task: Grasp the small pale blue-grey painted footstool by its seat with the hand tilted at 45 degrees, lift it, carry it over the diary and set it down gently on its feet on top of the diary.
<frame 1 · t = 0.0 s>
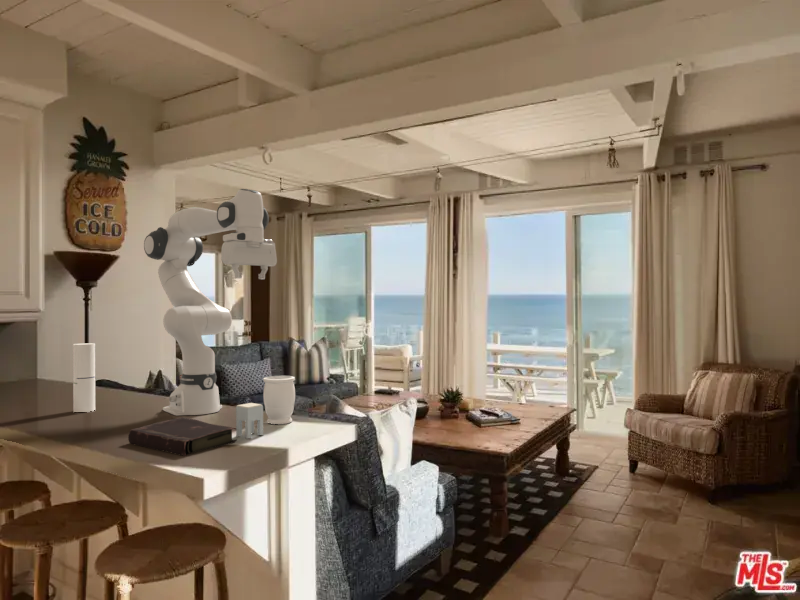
hand: (250, 278, 188), 48 cm above the counter, tool pointing down, fingers open, 8 cm apart
stool: (249, 435, 169), on the counter
miniature refrigerator: (84, 411, 210), on the counter
diary: (183, 445, 162), on the counter
jar: (279, 422, 188), on the counter
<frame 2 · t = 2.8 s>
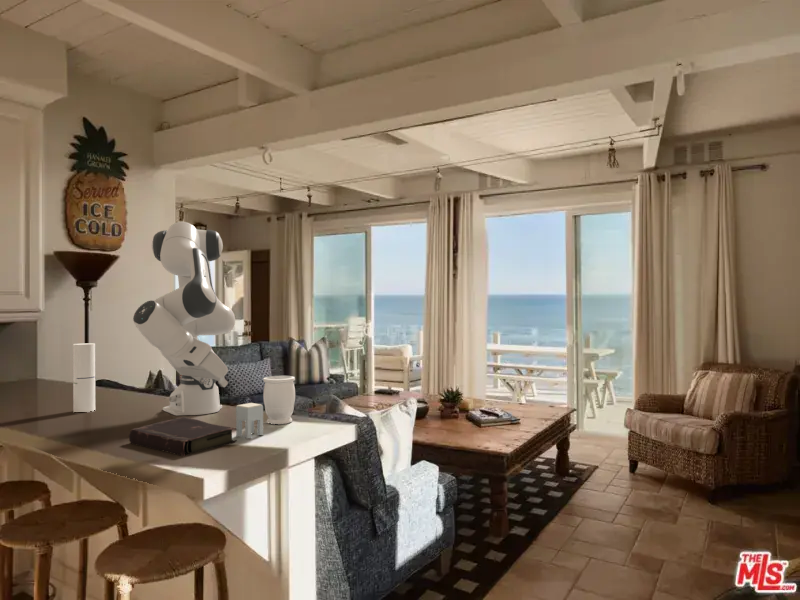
hand: (215, 383, 160), 17 cm above the counter, tool tilted 45°, fingers open, 8 cm apart
nothing on the counter moved.
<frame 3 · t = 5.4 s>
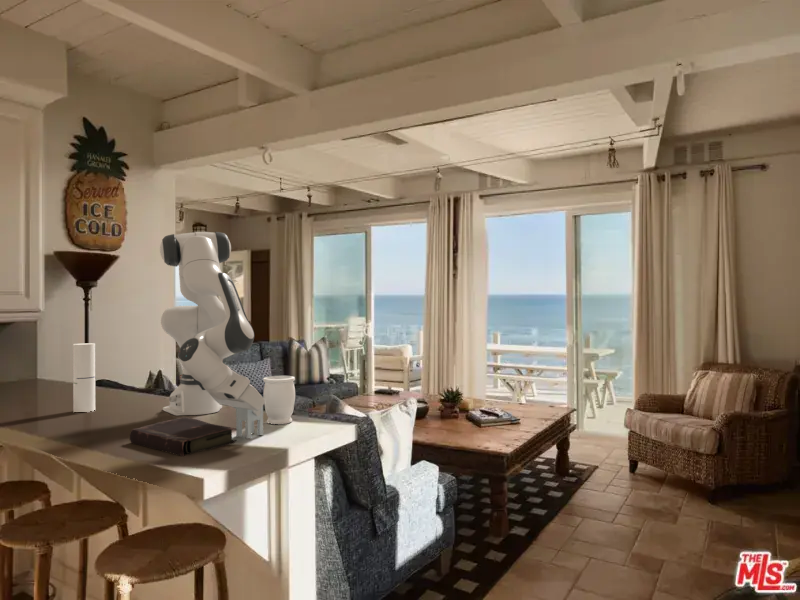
hand: (251, 412, 170), 7 cm above the counter, tool tilted 45°, fingers closed on stool, 6 cm apart
stool: (249, 435, 169), on the counter, touching gripper
everything else where it was.
when the fingers open (13 cm above the counter, at t = 10.3 s): stool drops 2 cm, resting on diary.
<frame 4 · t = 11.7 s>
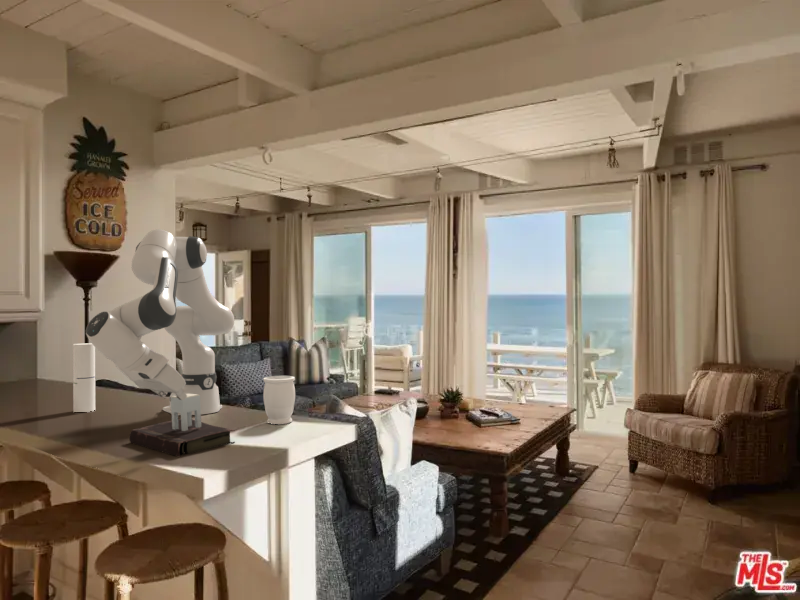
hand: (174, 396, 155), 14 cm above the counter, tool tilted 45°, fingers open, 8 cm apart
stool: (186, 427, 161), point 4 cm above the counter, touching diary
diary: (183, 446, 162), on the counter, touching stool
everything else where it was.
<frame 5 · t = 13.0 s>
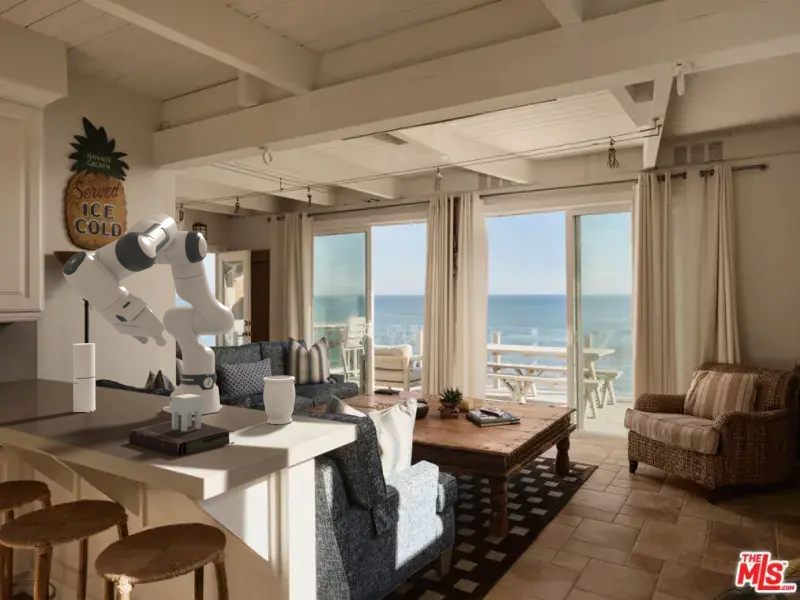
hand: (154, 343, 153), 29 cm above the counter, tool tilted 45°, fingers open, 8 cm apart
nothing on the counter moved.
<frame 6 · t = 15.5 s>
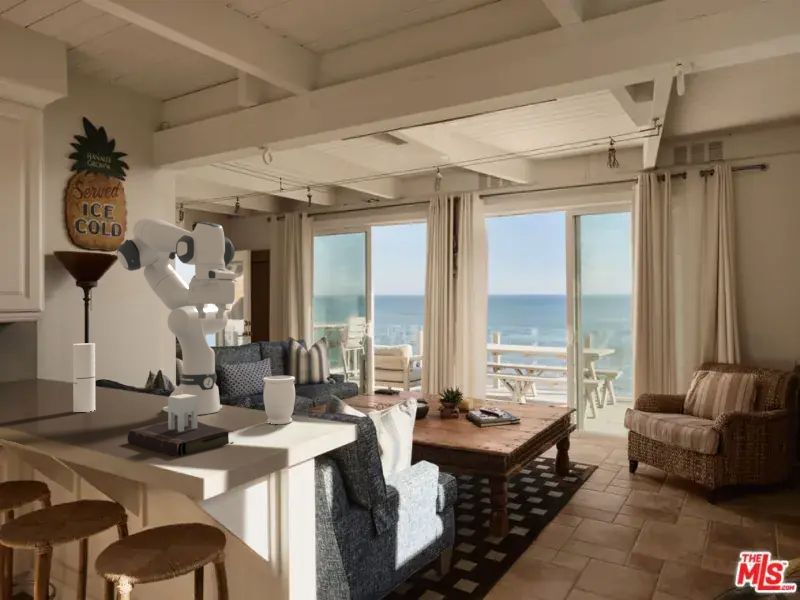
hand: (210, 318, 175), 35 cm above the counter, tool pointing down, fingers open, 8 cm apart
at the end: stool inside the target area (2.3 cm from its centre), point 4.2 cm above the counter; stool tilted 0°; stool touching diary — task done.
